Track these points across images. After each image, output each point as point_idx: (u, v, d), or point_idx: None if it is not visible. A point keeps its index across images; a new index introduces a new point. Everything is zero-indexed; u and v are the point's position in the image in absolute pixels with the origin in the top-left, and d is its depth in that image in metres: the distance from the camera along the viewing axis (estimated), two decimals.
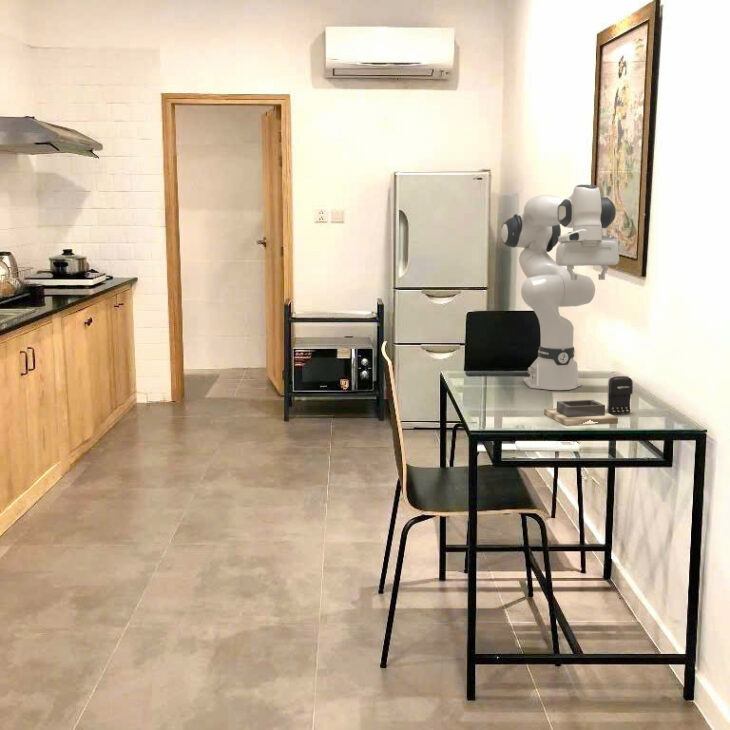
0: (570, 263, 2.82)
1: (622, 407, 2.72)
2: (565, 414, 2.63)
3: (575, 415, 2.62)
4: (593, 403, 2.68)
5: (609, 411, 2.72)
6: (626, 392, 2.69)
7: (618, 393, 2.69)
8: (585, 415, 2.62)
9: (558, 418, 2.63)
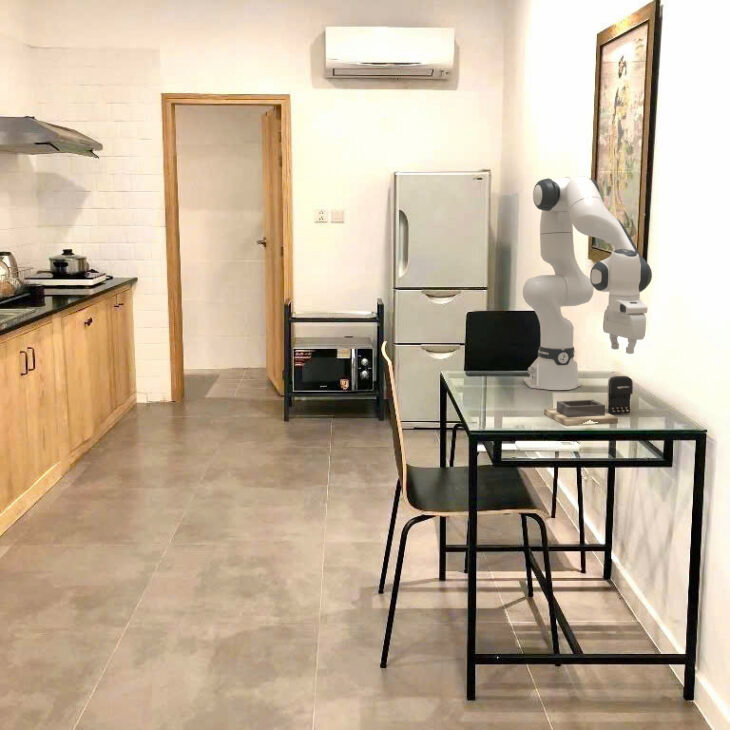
0: None
1: (622, 407, 2.72)
2: (565, 414, 2.63)
3: (575, 415, 2.62)
4: (593, 403, 2.68)
5: (609, 411, 2.72)
6: (626, 392, 2.69)
7: (618, 393, 2.69)
8: (585, 415, 2.62)
9: (558, 418, 2.63)
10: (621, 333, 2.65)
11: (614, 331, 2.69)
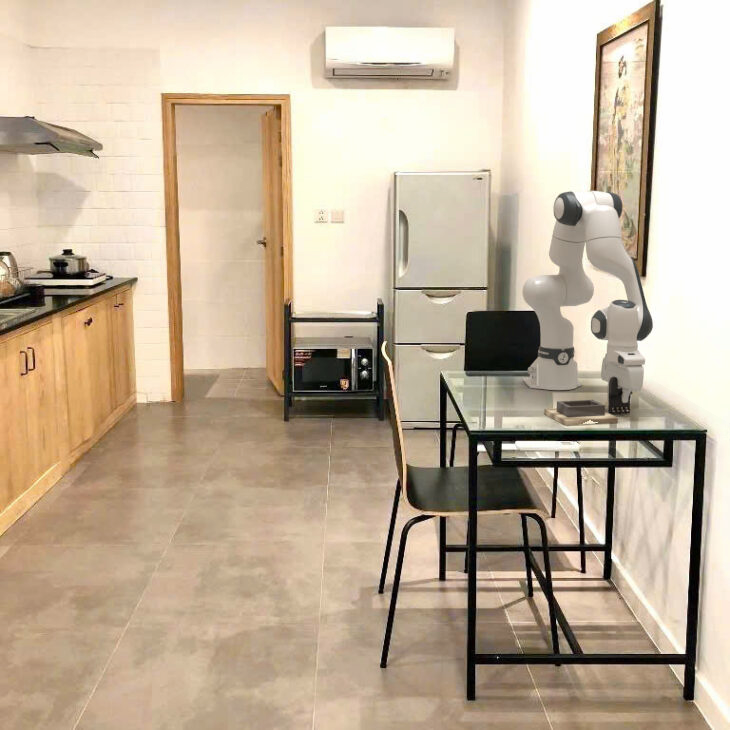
0: None
1: (622, 407, 2.72)
2: (565, 414, 2.63)
3: (575, 415, 2.62)
4: (593, 403, 2.68)
5: (609, 411, 2.72)
6: None
7: (618, 393, 2.69)
8: (585, 415, 2.62)
9: (558, 418, 2.63)
10: (619, 383, 2.68)
11: None
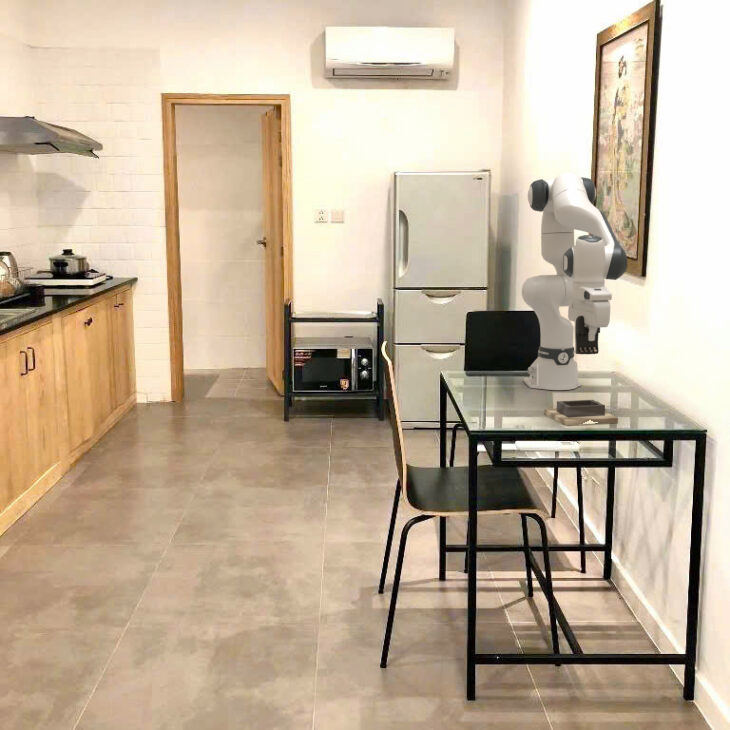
0: None
1: (590, 347, 2.63)
2: (565, 414, 2.63)
3: (575, 415, 2.62)
4: (593, 403, 2.68)
5: (577, 351, 2.63)
6: None
7: (585, 331, 2.61)
8: (585, 415, 2.62)
9: (558, 418, 2.63)
10: (585, 321, 2.59)
11: None
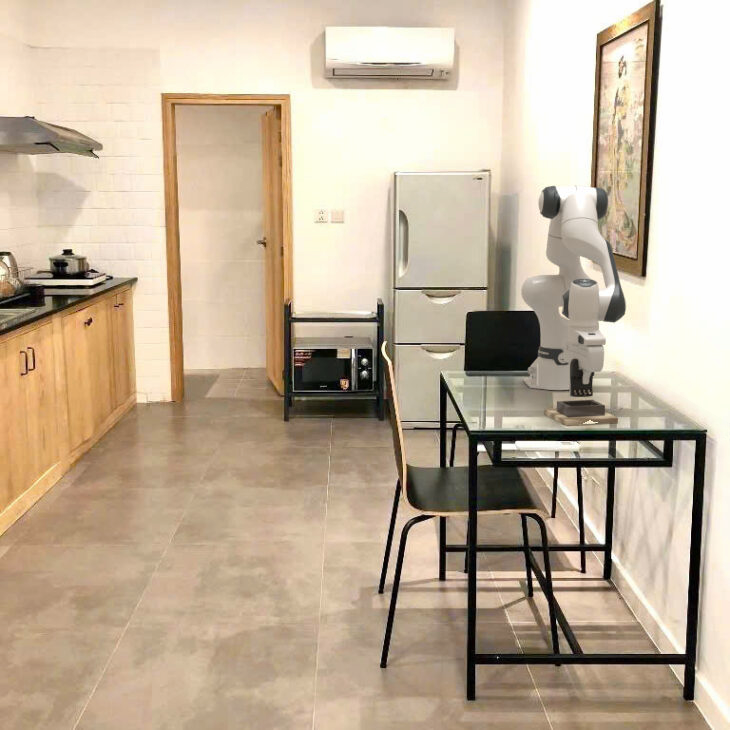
0: None
1: (584, 390, 2.65)
2: (565, 414, 2.63)
3: (575, 415, 2.62)
4: (593, 403, 2.68)
5: (571, 394, 2.65)
6: None
7: (580, 375, 2.62)
8: (585, 415, 2.62)
9: (558, 418, 2.63)
10: (580, 364, 2.61)
11: None
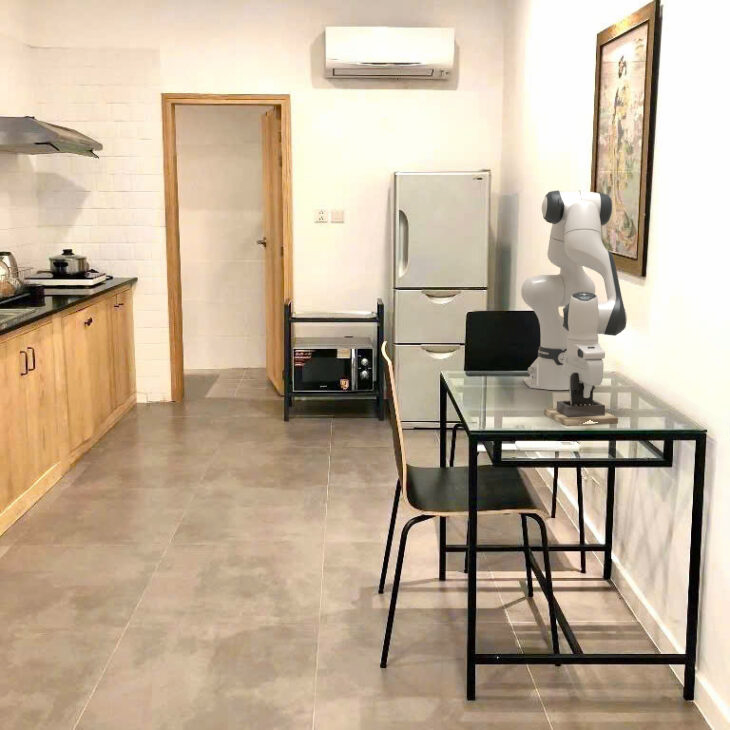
0: None
1: (585, 404, 2.65)
2: (565, 414, 2.63)
3: (575, 415, 2.62)
4: (593, 403, 2.68)
5: None
6: None
7: (580, 388, 2.62)
8: (585, 415, 2.62)
9: (558, 418, 2.63)
10: (579, 377, 2.62)
11: None
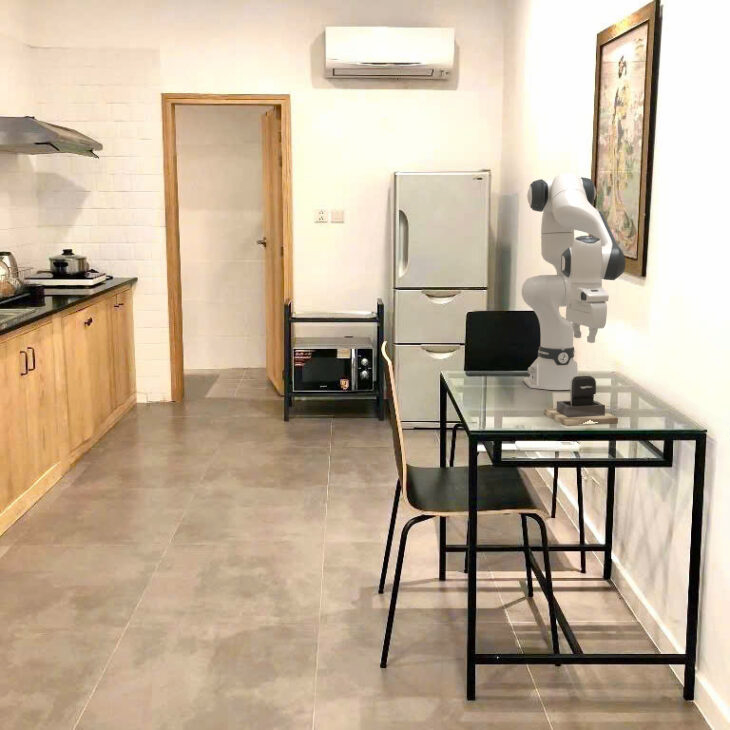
0: None
1: None
2: (565, 414, 2.63)
3: (575, 415, 2.62)
4: (593, 403, 2.68)
5: None
6: (589, 392, 2.62)
7: (581, 393, 2.62)
8: (585, 415, 2.62)
9: (558, 418, 2.63)
10: (582, 321, 2.60)
11: (576, 320, 2.64)
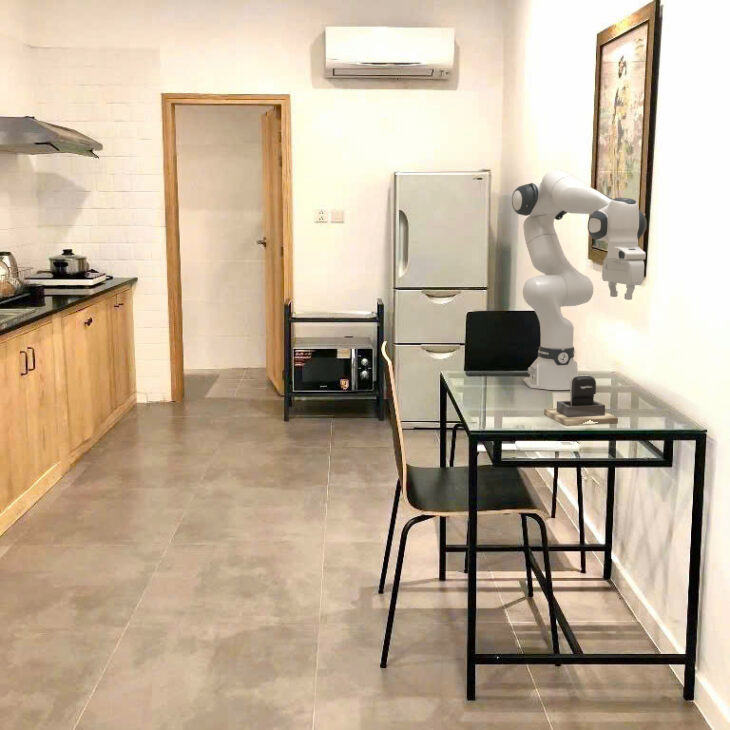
0: None
1: None
2: (565, 414, 2.63)
3: (575, 415, 2.62)
4: (593, 403, 2.68)
5: None
6: (589, 392, 2.62)
7: (581, 393, 2.62)
8: (585, 415, 2.62)
9: (558, 418, 2.63)
10: (620, 280, 2.71)
11: (613, 279, 2.75)
